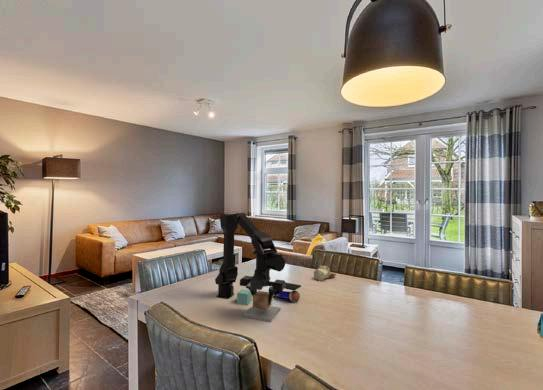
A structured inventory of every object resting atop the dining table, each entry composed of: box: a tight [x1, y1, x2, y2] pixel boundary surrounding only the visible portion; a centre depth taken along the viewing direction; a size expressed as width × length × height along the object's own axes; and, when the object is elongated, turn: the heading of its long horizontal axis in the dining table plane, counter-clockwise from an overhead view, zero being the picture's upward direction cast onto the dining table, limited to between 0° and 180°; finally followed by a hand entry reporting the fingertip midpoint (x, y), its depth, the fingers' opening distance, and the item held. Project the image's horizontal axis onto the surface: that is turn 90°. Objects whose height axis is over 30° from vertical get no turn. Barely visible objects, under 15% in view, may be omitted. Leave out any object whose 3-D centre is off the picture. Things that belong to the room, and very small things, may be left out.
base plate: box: [242, 305, 282, 323], centre depth 119 cm, size 12×12×1 cm
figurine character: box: [268, 282, 302, 303], centre depth 135 cm, size 7×8×15 cm
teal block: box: [236, 288, 253, 306], centre depth 130 cm, size 5×5×5 cm
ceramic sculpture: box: [313, 264, 337, 282], centre depth 168 cm, size 11×9×15 cm
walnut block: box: [252, 290, 272, 310], centre depth 119 cm, size 6×6×5 cm
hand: (262, 303), depth 119 cm, fingers closed on walnut block, 6 cm apart
